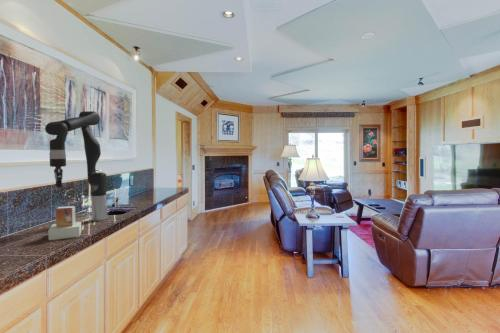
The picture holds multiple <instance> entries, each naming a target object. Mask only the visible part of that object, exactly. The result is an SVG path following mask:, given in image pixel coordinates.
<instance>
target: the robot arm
mask: <svg viewBox="0 0 500 333" xmlns="http://www.w3.org/2000/svg"><path fill="white" fill-rule="evenodd" d="M100 122H101V117H100V114H99V112H97V111H91V110H90V111H85V110H84V111H80V112H79V115H78V116H77V117H70V118H69V117H68V118H67V119H63V120H58V121H52V122H51V121H50V122H48V123H47V124H45V128H44V129H45V133H47V134H48V135H50V136H56V137H55V138H53V139H50V140H49V166H50V167H51V168H53V167H54V169H53V175H54V180H55V186H56V188H62V187H63V182H62V181H63V177H64V176H63V175H64V174H63V172H64V170H63V169H62V167H67V155H66V154H67V153H66V144H65V143H66V140H67V136H68V134H69V133H68V132H71V131H75V130H78V129H80V130H81V132H82V133H81V134H82V138H83V144H84V153H85V158H86V167H87V170H86V171H87V182H88V184H89V186H97V189H96V190H92V191H91V193H90V196H91V198H90V200H91V221H94V222H98V221H105V220H108V206H107V191H108V176H107V174H106V173H105V172H97V171H96V165H97V162H98V161H99V159H100V157H101V154H102V153H101V145H100V142H99V141H98V139H97V138H96V137H95V135H94V134H93V133H92V130H91V127H90V126H96V125H98V124H100Z"/></svg>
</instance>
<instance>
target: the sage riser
mask: <svg viewBox="0 0 500 333" xmlns="http://www.w3.org/2000/svg"><path fill="white" fill-rule="evenodd" d="M47 232H48V241H54V240H55V241H56V240H61V239H72V238H78V237H79V238H80V237H81V232H82V221H75V224H74V225H73V226H62V227H56V223H53V224H52V225H51V226H50V227H49V229H48V231H47Z"/></svg>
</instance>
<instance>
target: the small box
mask: <svg viewBox="0 0 500 333" xmlns="http://www.w3.org/2000/svg"><path fill="white" fill-rule="evenodd" d="M75 222H76V206H75V205H70V206H58V207H56V208H55V224H56V227H62V226H73V225H74V224H75Z"/></svg>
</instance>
